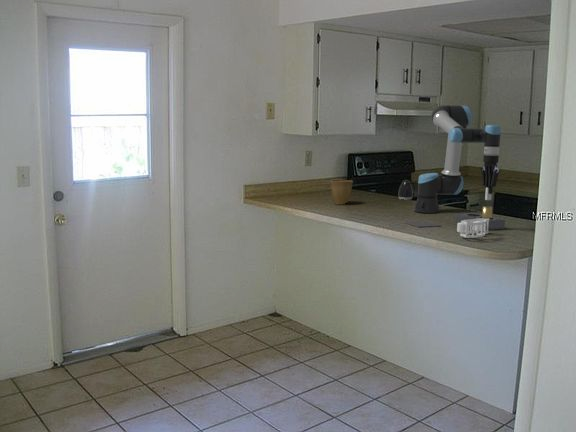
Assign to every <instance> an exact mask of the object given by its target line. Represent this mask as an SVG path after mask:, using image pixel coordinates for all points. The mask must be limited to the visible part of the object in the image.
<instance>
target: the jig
mask: <svg viewBox="0 0 576 432" xmlns="http://www.w3.org/2000/svg"><path fill="white" fill-rule="evenodd" d="M480 218H482V213H479V212H478V213H477V212H470V213H469V212H467V213H465V212H464V213H456V215H455V223H456V224H458V223H461V221H463V220H471V219H480ZM467 223H470V222H467ZM472 223H473V222H472ZM505 226H506V219H504V218H500V217H495V216H492V219H489V226H488V231H493V230H494V231H495V230H505ZM469 227H470V225H469ZM472 228H473V225H472ZM486 230H487V222H486Z"/></svg>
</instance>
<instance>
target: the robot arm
mask: <svg viewBox="0 0 576 432" xmlns="http://www.w3.org/2000/svg"><path fill="white" fill-rule="evenodd" d="M430 118H431V122H432V124H434V125H435V127H438V128H439V127H440V128H441V129H442V130H444V132H445V133H446V134H448V135H447V141H446V152H445V158H444V159H445V160H444V166H443V167H444V169H443V170H442V171H441V172H440V174H439V173H437V172H429V173H422V174H420V175H419V176H418V181H417V199H416V201H415V205H414V206H413V211H414V212H417V213H423V214H434V213H435V214H436V213H440V205H439V203H438V195H450V196H451V195H452V196H453V195H458V194H460V193H461V191H462V190H463V187H464V182H465V181H464V177H463V176H462V175H461V172H460V163H461V154H462V148H463V147H462V146H463V143H464V144H465V143H467V144H469V143H470V144H472V143H473V144H484V145H483V146H484V147H483V158H482V159H483V161H482V162H483V163H484V164H483V166H482V167H480V171H481V180H482V186H483V187H485V189H484V190H485V191H484V193H485V196H484V200H485V201H492V194H493V188H495V187H496V186H497V183H498V178H499V177H498V176H499V174H500V172H501V169H500V168H498V163H499V157H500V156H499V155H500V144H501V143H500V142H501V125H499V124H487V125H486V126H485V128H469V126H470V125H471V124H472V121H473V120H472V119H473V116H472V112H471V109H470V107H469V106H467V105H460V104H459V105H457V104H456V105H453V104H452V105H449V104H447V105H445V104H444V105H440V106H437V107H435V108H434V109H433V111H432V112H431V116H430Z"/></svg>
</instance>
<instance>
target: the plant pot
mask: <svg viewBox="0 0 576 432" xmlns="http://www.w3.org/2000/svg"><path fill="white" fill-rule="evenodd" d="M353 183H354V181H353V180H351V179H349V180H348V179H331V180H330V189H331V195H332V199H333V201H334V204H335V203H339V204H345V203H348V201H349V198H350V195H351V192H352V188H353Z"/></svg>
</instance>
